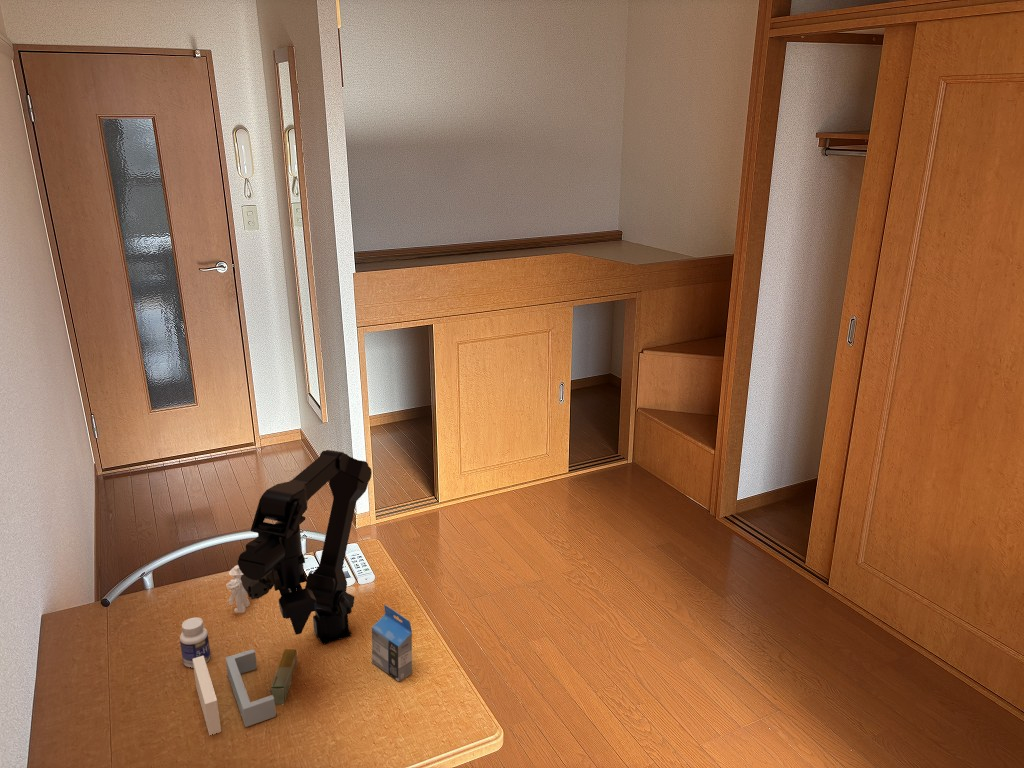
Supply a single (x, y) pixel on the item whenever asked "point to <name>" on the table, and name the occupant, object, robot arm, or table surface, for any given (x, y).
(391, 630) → the label tape box
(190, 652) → the pill bottle
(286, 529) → the robot arm
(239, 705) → the cradle
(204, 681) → the wall
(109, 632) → the table surface
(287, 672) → the medication box
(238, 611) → the flower shoulder figurine
